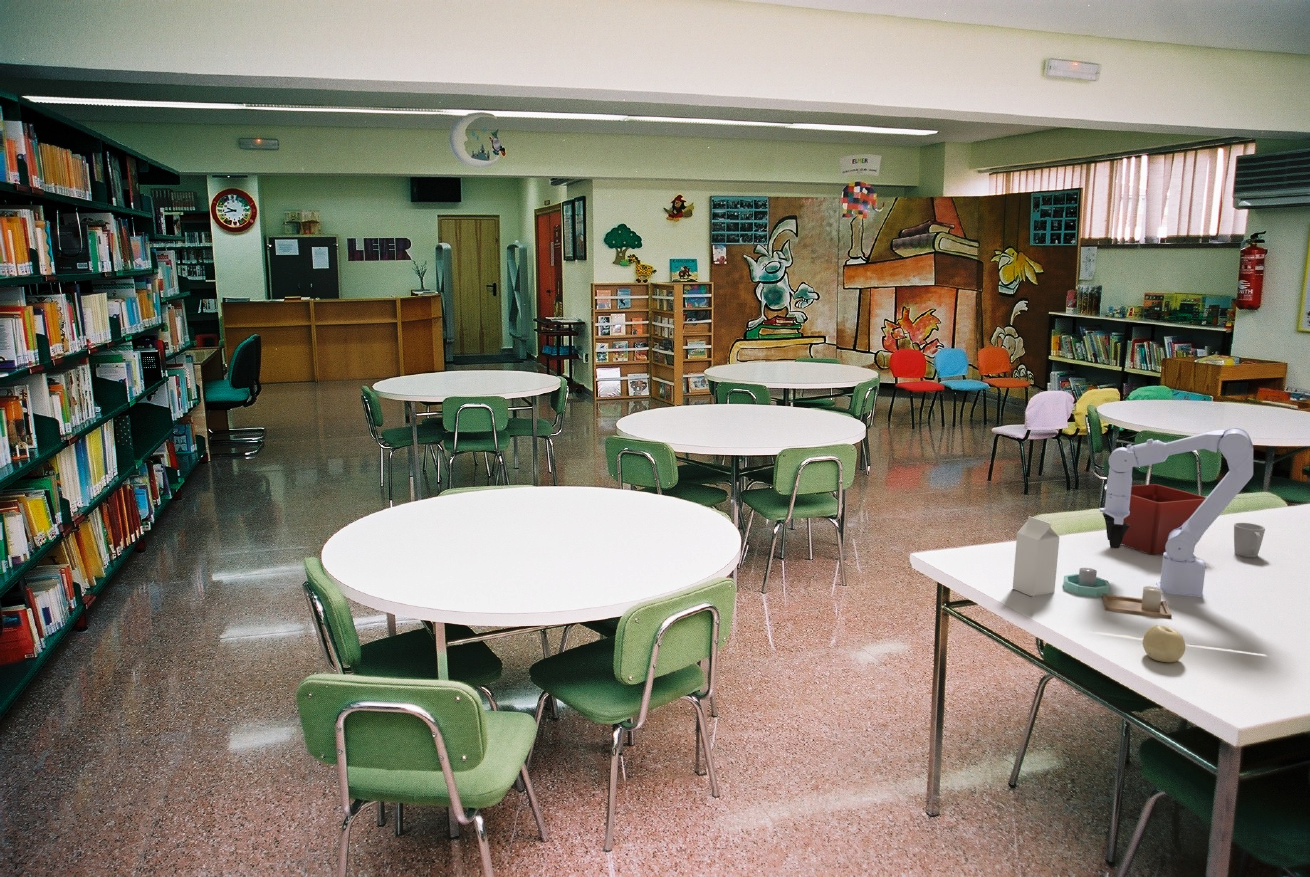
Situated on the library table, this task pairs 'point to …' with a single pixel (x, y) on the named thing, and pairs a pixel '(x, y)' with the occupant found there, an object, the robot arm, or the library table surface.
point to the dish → (1098, 590)
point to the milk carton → (1036, 558)
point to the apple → (1164, 644)
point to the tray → (1132, 606)
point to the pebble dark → (1087, 577)
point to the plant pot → (1157, 516)
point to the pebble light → (1151, 599)
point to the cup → (1248, 539)
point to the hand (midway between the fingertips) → (1113, 544)
